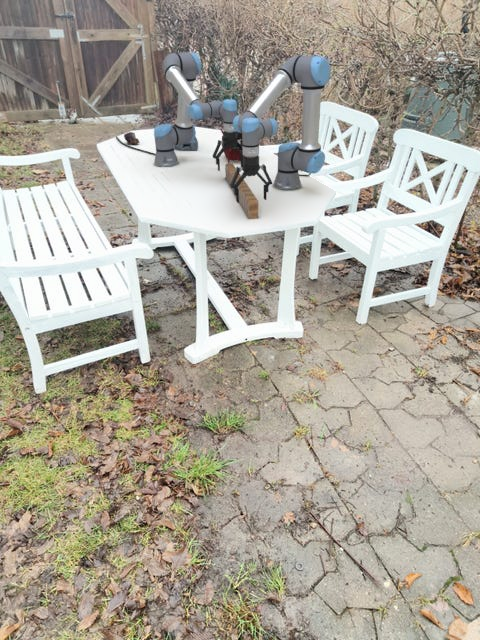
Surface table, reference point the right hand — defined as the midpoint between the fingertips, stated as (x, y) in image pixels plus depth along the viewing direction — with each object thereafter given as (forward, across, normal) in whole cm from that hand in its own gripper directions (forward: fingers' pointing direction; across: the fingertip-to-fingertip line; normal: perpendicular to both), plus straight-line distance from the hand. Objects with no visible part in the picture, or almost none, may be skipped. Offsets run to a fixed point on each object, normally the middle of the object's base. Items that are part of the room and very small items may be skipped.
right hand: (251, 200), depth 218 cm
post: (+7, 0, +26) cm, 27 cm away
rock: (+8, -58, +157) cm, 167 cm away
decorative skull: (+8, +13, +97) cm, 99 cm away
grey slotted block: (+8, -19, +134) cm, 136 cm away
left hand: (+1, -1, +53) cm, 53 cm away
